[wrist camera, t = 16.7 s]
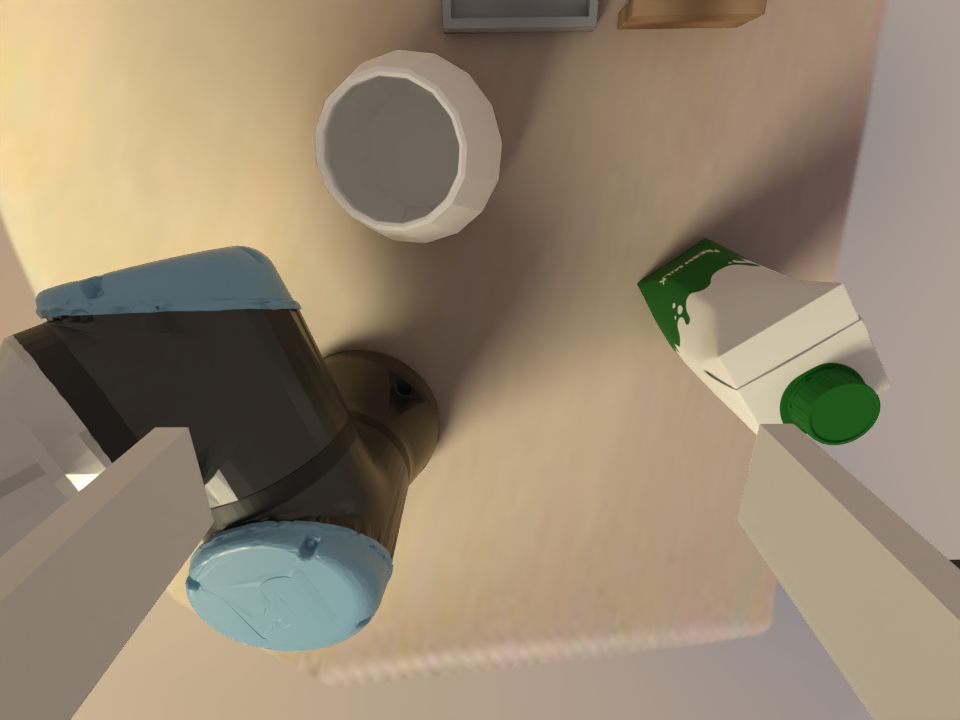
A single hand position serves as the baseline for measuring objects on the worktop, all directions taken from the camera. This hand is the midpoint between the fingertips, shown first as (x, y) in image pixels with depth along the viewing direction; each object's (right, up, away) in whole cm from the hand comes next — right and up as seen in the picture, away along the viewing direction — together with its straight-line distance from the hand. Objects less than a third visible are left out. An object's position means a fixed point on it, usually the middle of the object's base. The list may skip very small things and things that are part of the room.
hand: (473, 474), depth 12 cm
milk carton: (+19, +9, +34) cm, 40 cm away
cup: (-5, +20, +30) cm, 36 cm away
